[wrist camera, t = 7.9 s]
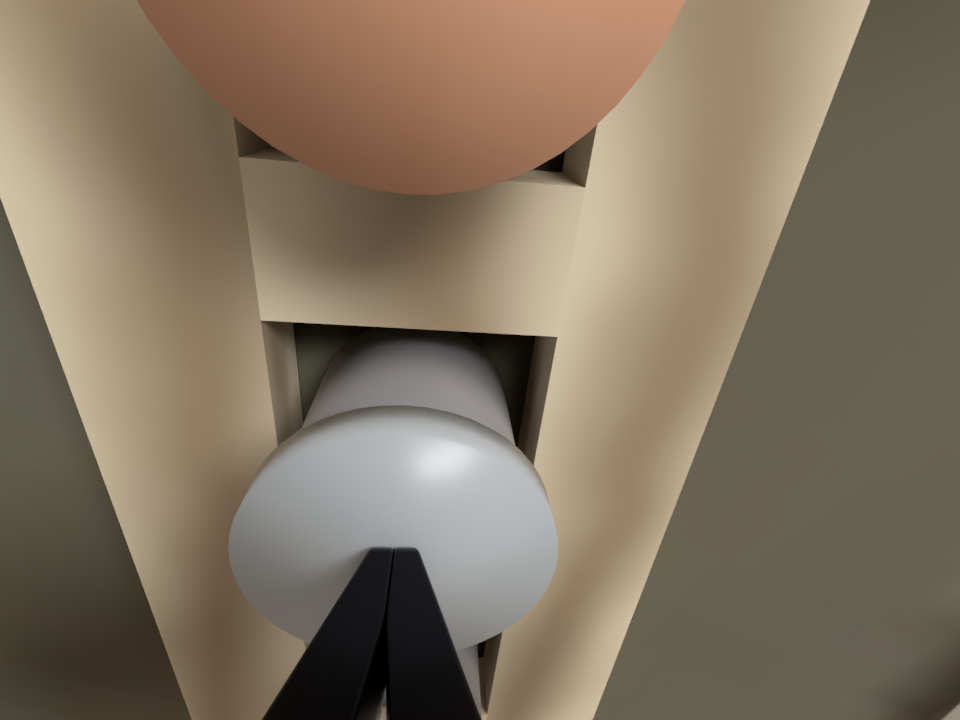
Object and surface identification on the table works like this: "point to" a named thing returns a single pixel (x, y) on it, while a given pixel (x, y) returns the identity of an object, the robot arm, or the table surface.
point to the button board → (400, 305)
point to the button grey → (399, 490)
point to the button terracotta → (416, 79)
